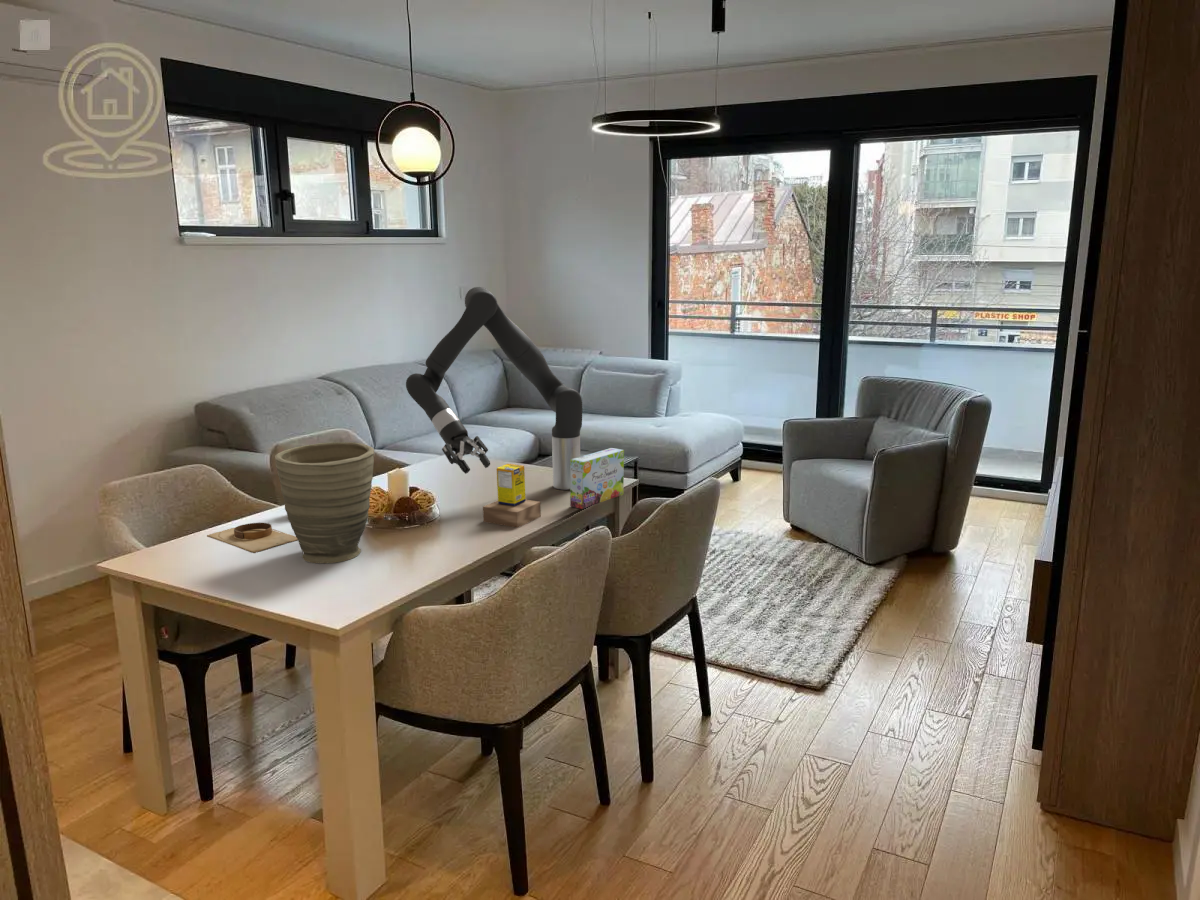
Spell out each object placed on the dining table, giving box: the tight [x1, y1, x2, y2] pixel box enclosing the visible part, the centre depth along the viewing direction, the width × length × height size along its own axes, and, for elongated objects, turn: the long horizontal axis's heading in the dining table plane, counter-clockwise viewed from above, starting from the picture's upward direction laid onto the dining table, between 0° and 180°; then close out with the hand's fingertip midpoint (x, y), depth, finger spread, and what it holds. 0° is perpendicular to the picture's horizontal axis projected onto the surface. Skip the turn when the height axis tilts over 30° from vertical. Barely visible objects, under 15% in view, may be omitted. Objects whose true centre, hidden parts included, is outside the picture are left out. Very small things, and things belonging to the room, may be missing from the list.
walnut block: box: [482, 499, 542, 529], centre depth 256 cm, size 12×12×5 cm
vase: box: [274, 441, 375, 564], centre depth 224 cm, size 25×24×30 cm
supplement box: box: [496, 463, 527, 506], centre depth 256 cm, size 6×6×11 cm
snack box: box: [569, 447, 625, 510], centre depth 273 cm, size 21×6×15 cm, turn 143°
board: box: [206, 522, 299, 554], centre depth 242 cm, size 25×15×3 cm, turn 53°
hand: (478, 468), depth 262 cm, fingers open, 8 cm apart
